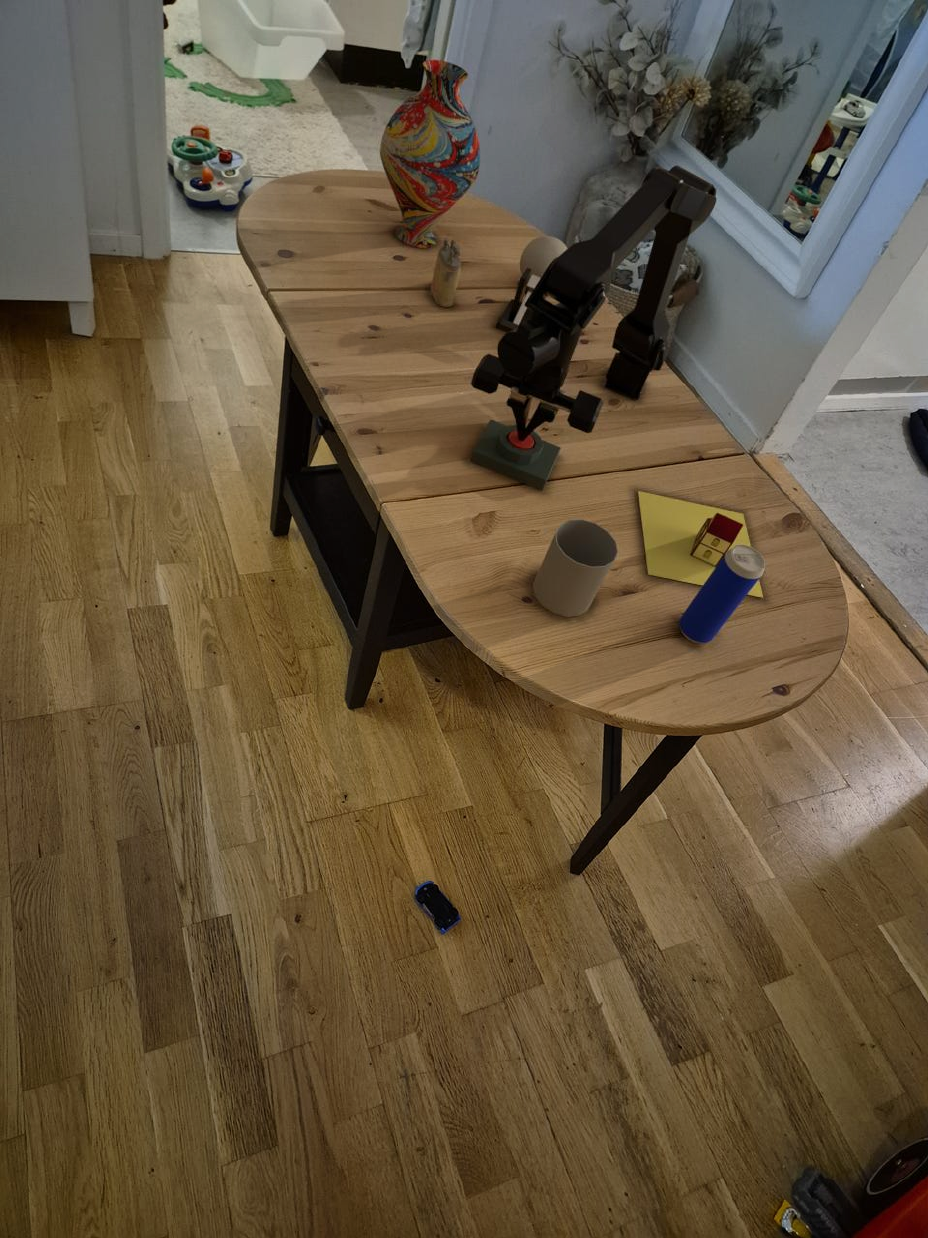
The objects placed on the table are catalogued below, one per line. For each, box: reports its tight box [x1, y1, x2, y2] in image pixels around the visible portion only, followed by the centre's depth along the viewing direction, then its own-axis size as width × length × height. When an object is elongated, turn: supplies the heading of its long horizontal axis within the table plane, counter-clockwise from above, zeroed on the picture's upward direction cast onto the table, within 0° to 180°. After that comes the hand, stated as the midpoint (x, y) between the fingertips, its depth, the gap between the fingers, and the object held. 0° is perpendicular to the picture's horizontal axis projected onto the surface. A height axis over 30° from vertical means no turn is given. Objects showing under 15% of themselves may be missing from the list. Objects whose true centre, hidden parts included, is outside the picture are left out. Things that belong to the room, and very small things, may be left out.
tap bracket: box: [494, 268, 549, 333], centre depth 147 cm, size 10×8×9 cm
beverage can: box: [678, 545, 766, 644], centre depth 104 cm, size 5×5×15 cm
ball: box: [519, 235, 568, 279], centre depth 156 cm, size 10×10×10 cm
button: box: [507, 431, 534, 450], centre depth 122 cm, size 4×4×2 cm
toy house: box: [690, 512, 744, 567], centre depth 118 cm, size 6×7×8 cm
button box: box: [469, 419, 562, 492], centre depth 123 cm, size 12×9×4 cm
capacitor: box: [429, 237, 462, 308], centre depth 146 cm, size 7×4×10 cm, turn 16°
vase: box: [379, 59, 481, 249], centre depth 150 cm, size 19×19×30 cm
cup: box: [532, 518, 619, 618], centre depth 105 cm, size 8×8×10 cm
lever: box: [498, 274, 541, 333], centre depth 143 cm, size 12×5×2 cm, turn 161°
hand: (521, 438), depth 121 cm, fingers closed, pressing on button
